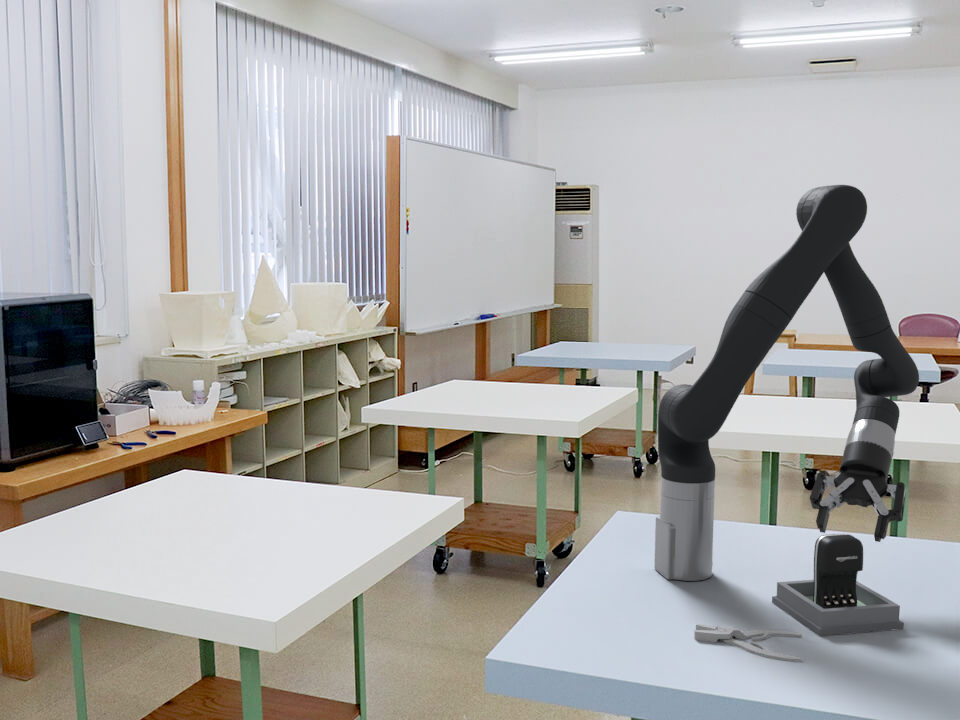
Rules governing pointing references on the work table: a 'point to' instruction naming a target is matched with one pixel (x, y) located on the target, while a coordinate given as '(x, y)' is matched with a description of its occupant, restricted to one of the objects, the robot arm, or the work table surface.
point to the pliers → (726, 635)
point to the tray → (837, 610)
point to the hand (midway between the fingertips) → (849, 534)
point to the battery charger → (836, 570)
